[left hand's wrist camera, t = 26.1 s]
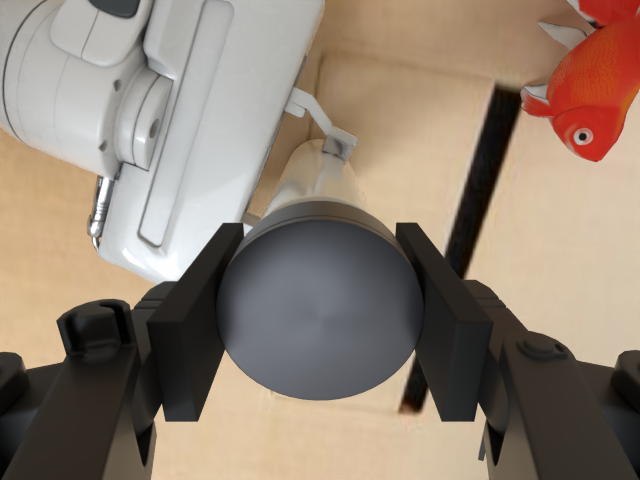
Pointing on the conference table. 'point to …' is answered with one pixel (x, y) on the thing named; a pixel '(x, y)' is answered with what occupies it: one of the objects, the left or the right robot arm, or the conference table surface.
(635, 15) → the fish
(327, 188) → the jar
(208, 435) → the conference table surface
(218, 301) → the lid
